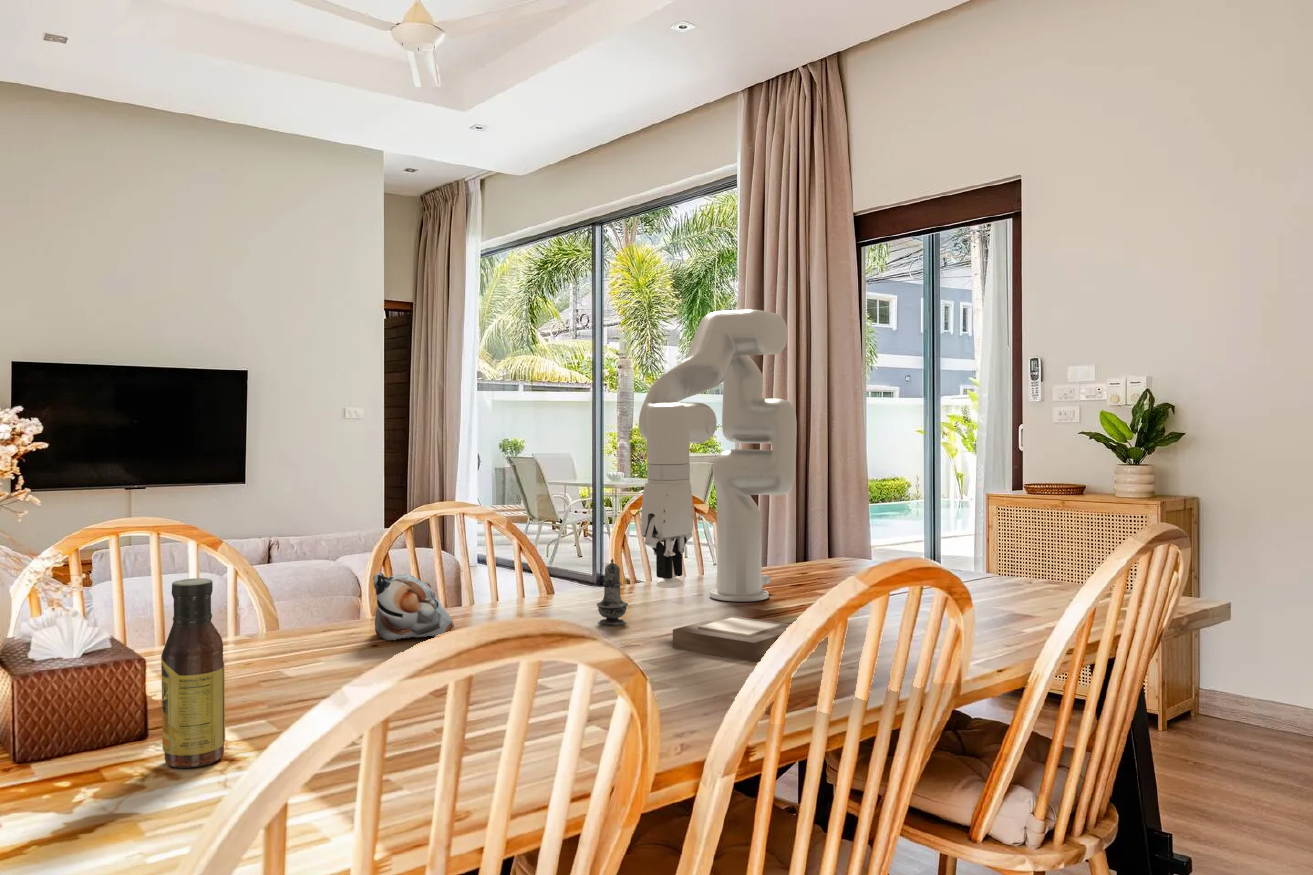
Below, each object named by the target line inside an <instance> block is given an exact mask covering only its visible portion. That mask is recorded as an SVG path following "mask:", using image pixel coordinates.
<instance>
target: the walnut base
mask: <svg viewBox="0 0 1313 875" xmlns="http://www.w3.org/2000/svg"><path fill="white" fill-rule="evenodd" d="M790 624H791V623H784V622H779V621H776V622H775V621H770V620H762V619H757V618H750V617H744V616H743V617H741V616H736V615H729V614H728V615H727V614H726V615H722V616H719V617H714V618H711V619H707V620H703V621H700V622H696V623H693V624H688V625H685V626H681V627H678V628H677V627H676V628H674V629H672V649H678V650H679V649H680V650H684V651H690V652H695V653H701V654H706V655H712V656H717V657H718V656H719V657H722V658H723V657H725V658H729V659H735V660H741V661H746V662H752V663H755V662H759V661H761V660H760V659H761V658H762V657H763V656H764V654H765V653H766V651H767V650H768V649H769V648H770V646H771V645H772V644H773V643H774V642H775V641H776V640H777V639H778V637H779V636H780V635H781V634H782V633H783V632H784V631H786V628H787V627H788V626H789V625H790Z"/></svg>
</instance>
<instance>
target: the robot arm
mask: <svg viewBox="0 0 1313 875" xmlns="http://www.w3.org/2000/svg"><path fill="white" fill-rule="evenodd" d="M788 338H789V330H788V326H787V323H786V321H785V319H784V317H782V316H781V315H780V314H778V313H775V312H770V311H766V310H762V309H738V310H737V309H734V310H733V309H732V310H717V311H713V312H709V313H707V314H706V315H704V316H703V317H702V319H701V320H700V322H699V324H698V326H697V329H696V332H695V333H694V336H693V339H692V341H691V344H690V347H689V348H688V351H687V353H686V356H685V359H684V360H682V361H681V362H680V363H678V364H677V365H674V366H673V367H672V368H670V369H669V370H668V371H667V372H665V373H664V374H662V375H661V376H660V377H659V378H657V379H656V380H655V381H654V382H653V383H652V385H651V386H650V388H649V389H648V391H647V393H646V396H645V398H644V400H643V404H642V405H641V409H640V412H639V415H638V430H639V432H640V435H641V437H642V438H643V439H644V440H645V441H646V453H647V454H646V455H647V456H646V459H647V460H646V462H647V463H646V466H647V468H646V470H647V471H646V473H647V476H646V477H647V482H646V481H645V484H644V487H643V492H642V493H643V494H642V500H641V512H640V513H641V514H640V515H641V516H640V517H641V518H640V521H641V522H640V532H641V533H640V534H641V536H642V537H643V538H645V540H644V545H646V546H647V547H649V548H651V549H652V551H653V555H654V556H656V557H655V559H656V562H655V564H656V568H655V569H656V570H655V572H656V578H660V579H663V578H666V579H671V578H672V577H673V568H674V574H675V575H676V577H682V576H683V554H684V553H685V546H686V544H687V542H688V541H689V540H690V539H691V538H692V537H693V530H694V503H693V502H694V501H693V492H692V487H691V486H692V485H691V479H690V478H691V477H690V471H691V470H690V444H703V443H706V442H707V441H709V440H710V439H711V438H712V437H713V436H714V434H715V432H716V429H717V424H718V423H717V422H718V421H717V416H716V413H715V411H714V410H713V408H711V407H710V406H709V405H707V404H705V403H702V402H682V401H683V400H685V399H687V398H691V397H693V396H696V395H700V394H702V393H704V392H708V391H709V390H712V389H714V388H716V387H718V386H719V385H721V384H723V388H722V411H721V412H722V414H721V428H722V433H723V436H724V438H725V439H726V440H727V441H729V442H732V443H737V444H739V443H741V444H770V445H771V448H772V449H756V448H755V449H754V448H753V449H750V448H749V449H748V448H747V449H744V448H742V449H741V448H739V449H737V448H734V449H732V448H731V449H728V450H727V449H726V450H724V451H723V450H722V451H721V452H720V453H719V454H717V455H716V457H715V458H714V461H713V462H712V475H713V476H712V477H713V483H714V489H715V496H716V497H715V498H716V588H713V589H710V591H709V597H710V598H711V599H714V600H718V601H725V602H739V603H741V602H743V603H744V602H746V603H747V602H758V601H765V600H767V599H768V598H769V596H770V594H769V591H768V590H766V589H763V586H764V585H767V584H770V583H771V580H772V579H771V576H770V575H769V574H764V575H763V574H762V532H763V530H762V529H763V528H762V523H763V522H762V521H763V518H762V513H761V510H760V508H759V506H758V505H757V503H756V502H755V501H754V498H753V497H752V496H755V495H756V496H757V495H758V496H759V495H760V496H761V495H762V496H766V495H767V496H783V495H786V494H789V493H790V492H791V491H792V490H793V487H794V485H795V481H796V480H795V478H796V464H797V463H796V461H797V458H796V457H797V436H798V435H797V431H798V430H797V414H796V410H795V408H794V405H793V404H792V403H791V402H790V401H789V400H786V399H782V398H764V393H763V391H764V390H763V388H764V387H763V386H764V385H763V384H764V376H763V372H762V371H761V370H760V368H759V367H758V365H757V364H756V362H755V361H754V360H753V359H752V358H751V357H750V356H762V355H763V356H764V355H765V356H766V355H768V356H769V355H770V356H771V355H778V354H780V353H782V352H783V350H784V349H785V348H786V346H787V342H788ZM670 538H671V539H672V540H674V541H675V543H674V546H673V550H672V551H673V552H674V553H675V555H674V556H669V555H670ZM672 560H673V565H672Z"/></svg>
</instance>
